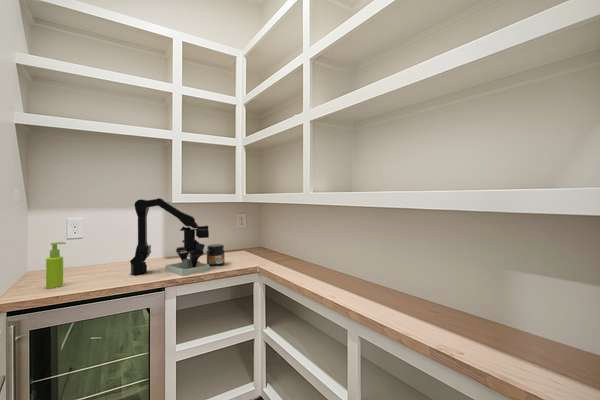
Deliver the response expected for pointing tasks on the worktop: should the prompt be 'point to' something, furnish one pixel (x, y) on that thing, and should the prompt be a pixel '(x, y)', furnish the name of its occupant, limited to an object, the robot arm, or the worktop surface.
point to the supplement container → (215, 255)
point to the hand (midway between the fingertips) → (189, 266)
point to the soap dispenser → (54, 267)
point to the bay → (178, 269)
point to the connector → (188, 264)
